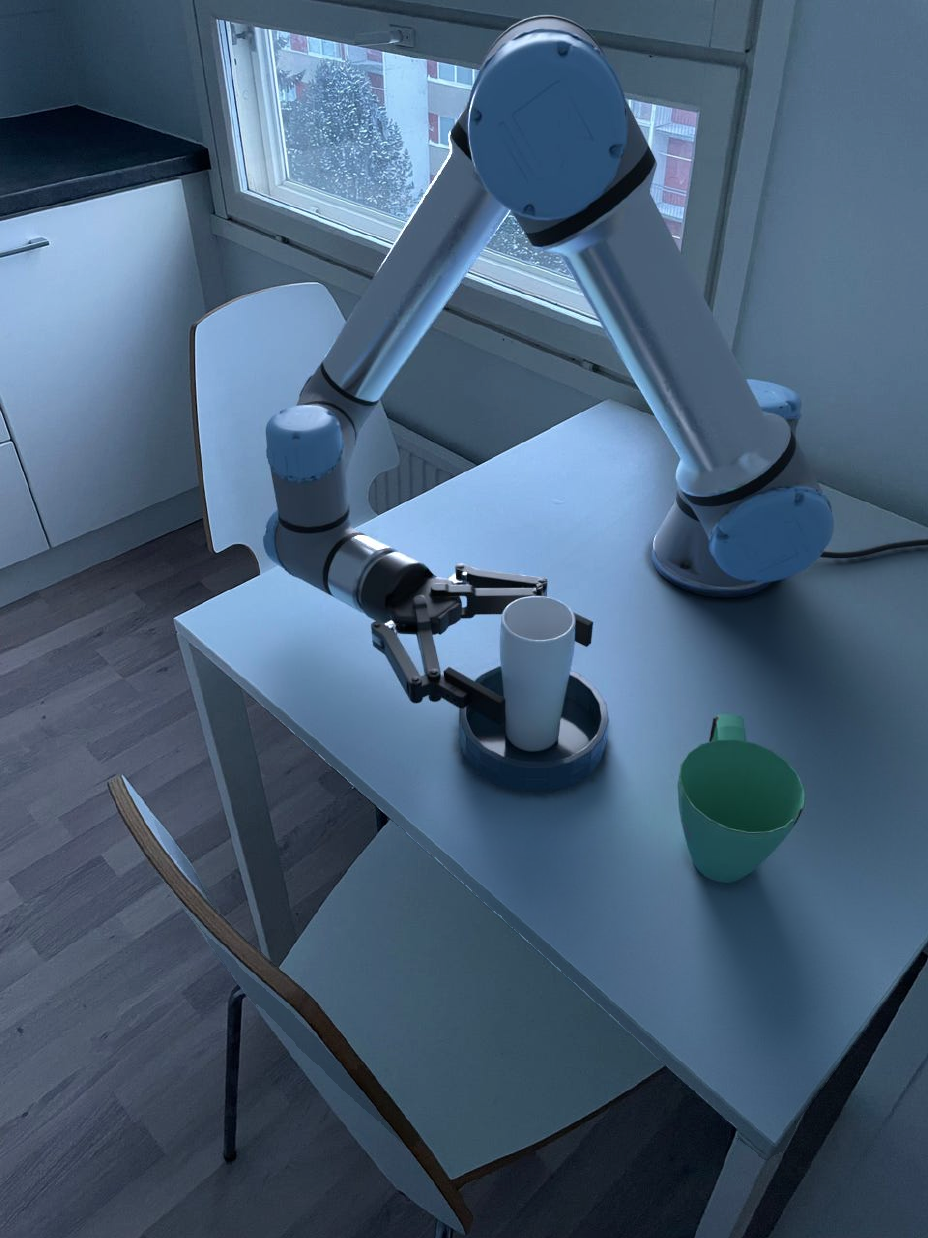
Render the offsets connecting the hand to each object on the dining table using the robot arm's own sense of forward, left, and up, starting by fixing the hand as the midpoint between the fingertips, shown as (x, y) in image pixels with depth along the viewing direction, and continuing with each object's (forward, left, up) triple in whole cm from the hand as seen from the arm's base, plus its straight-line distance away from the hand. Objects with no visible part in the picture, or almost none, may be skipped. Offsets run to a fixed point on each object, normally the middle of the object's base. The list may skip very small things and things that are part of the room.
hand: (548, 671), depth 82 cm
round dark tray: (+1, -1, -10) cm, 10 cm away
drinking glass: (+1, -1, -10) cm, 10 cm away
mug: (-15, +11, -10) cm, 21 cm away
